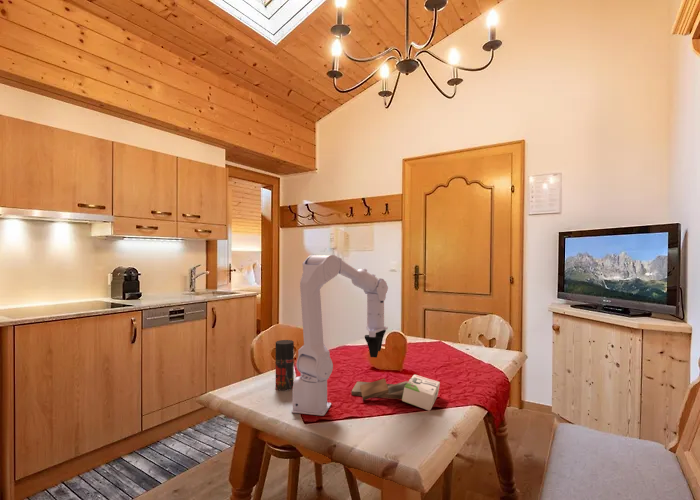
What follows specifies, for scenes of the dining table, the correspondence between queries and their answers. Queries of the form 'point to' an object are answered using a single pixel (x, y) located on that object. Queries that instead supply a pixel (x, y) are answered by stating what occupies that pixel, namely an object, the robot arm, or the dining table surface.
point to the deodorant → (284, 365)
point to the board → (395, 395)
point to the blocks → (380, 388)
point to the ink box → (421, 392)
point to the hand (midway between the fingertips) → (375, 353)
